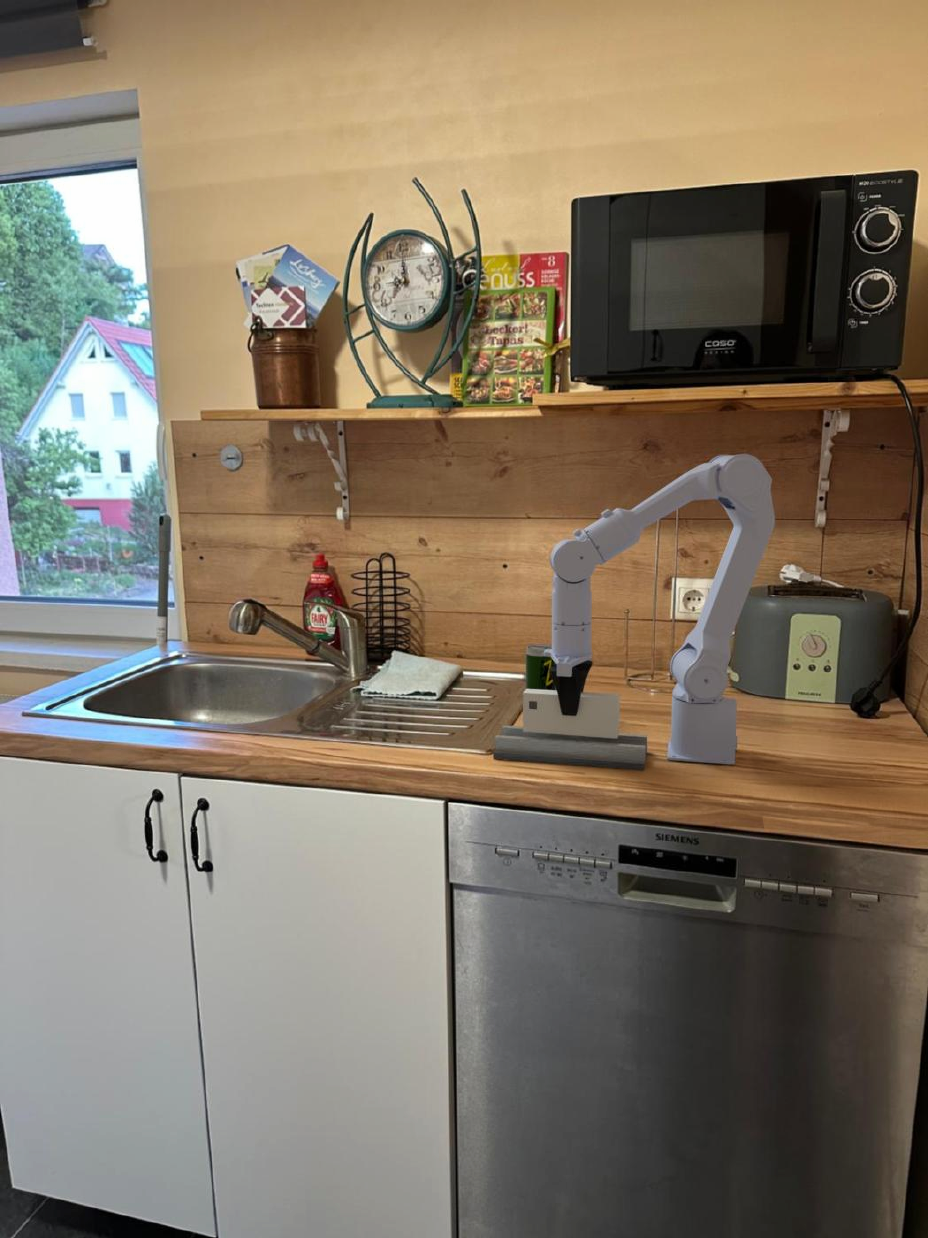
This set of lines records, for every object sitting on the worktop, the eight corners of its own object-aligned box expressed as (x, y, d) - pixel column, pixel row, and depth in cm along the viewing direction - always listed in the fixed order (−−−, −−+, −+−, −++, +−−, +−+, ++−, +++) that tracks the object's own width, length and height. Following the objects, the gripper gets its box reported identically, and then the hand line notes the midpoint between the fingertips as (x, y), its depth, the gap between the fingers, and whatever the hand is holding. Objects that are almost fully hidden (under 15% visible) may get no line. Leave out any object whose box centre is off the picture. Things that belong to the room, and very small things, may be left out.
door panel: (619, 733, 123) (619, 694, 122) (617, 738, 121) (618, 699, 120) (526, 726, 127) (526, 688, 126) (523, 731, 125) (523, 693, 124)
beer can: (520, 716, 144) (520, 648, 142) (533, 708, 149) (533, 642, 147) (549, 720, 142) (549, 651, 140) (561, 712, 146) (561, 645, 144)
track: (647, 751, 126) (647, 732, 125) (644, 770, 118) (644, 750, 118) (505, 741, 131) (504, 723, 131) (493, 758, 124) (493, 739, 123)
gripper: (552, 612, 129) (552, 697, 131) (535, 630, 115) (535, 725, 118) (598, 614, 127) (597, 699, 130) (586, 632, 113) (585, 728, 116)
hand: (570, 712), depth 124 cm, fingers closed on door panel, 2 cm apart
